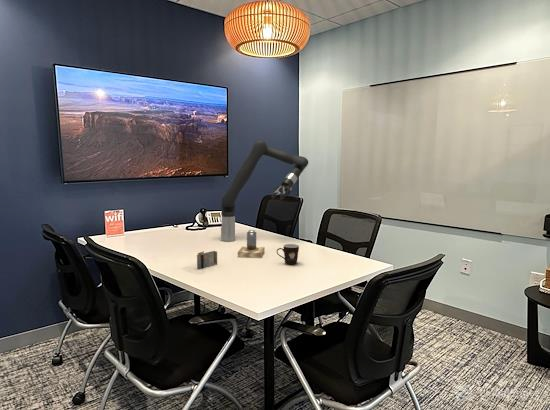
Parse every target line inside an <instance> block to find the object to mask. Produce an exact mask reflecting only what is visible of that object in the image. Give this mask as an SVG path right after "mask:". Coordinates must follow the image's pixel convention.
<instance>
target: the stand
mask: <svg viewBox="0 0 550 410" xmlns="http://www.w3.org/2000/svg"><path fill="white" fill-rule="evenodd" d="M264 254H265V247H264V246H256V250H248V249H247V246H241V247H240V249H239V250H237V258H247V259H248V258H251V259H262V258H263V257H264Z"/></svg>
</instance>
